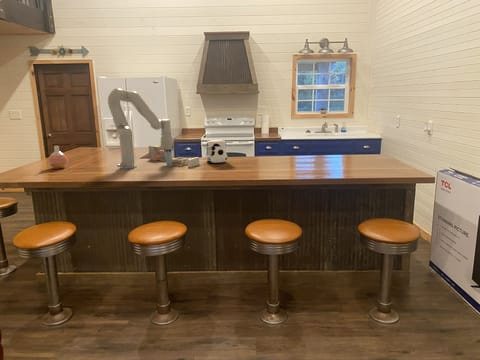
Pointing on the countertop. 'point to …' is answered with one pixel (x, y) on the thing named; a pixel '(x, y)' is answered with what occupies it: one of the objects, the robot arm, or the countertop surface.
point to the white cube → (216, 151)
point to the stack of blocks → (157, 153)
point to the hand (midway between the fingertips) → (168, 157)
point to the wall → (193, 162)
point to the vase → (57, 159)
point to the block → (179, 161)
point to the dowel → (169, 159)
